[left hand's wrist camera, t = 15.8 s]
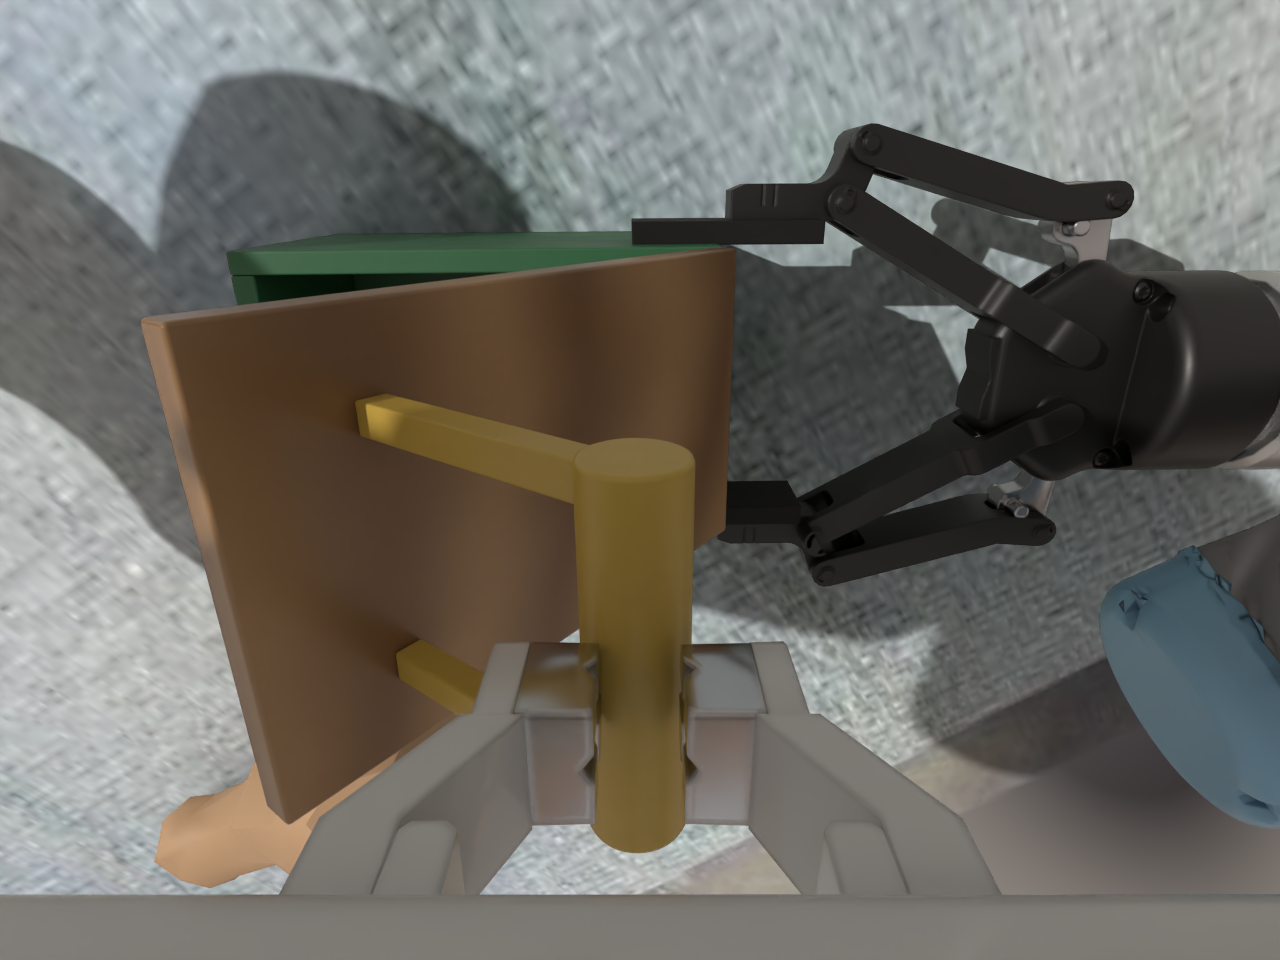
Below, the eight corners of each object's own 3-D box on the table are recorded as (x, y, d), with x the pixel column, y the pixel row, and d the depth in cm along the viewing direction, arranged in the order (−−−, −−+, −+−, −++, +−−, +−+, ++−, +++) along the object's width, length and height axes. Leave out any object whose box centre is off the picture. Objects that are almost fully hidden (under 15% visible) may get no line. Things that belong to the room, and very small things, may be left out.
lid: (265, 807, 15) (551, 1075, 10) (136, 316, 11) (492, 398, 7) (706, 524, 27) (923, 589, 22) (713, 246, 23) (976, 258, 19)
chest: (369, 443, 36) (283, 527, 27) (336, 233, 32) (224, 251, 23) (692, 438, 36) (714, 521, 27) (696, 230, 32) (723, 246, 23)
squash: (538, 747, 43) (514, 906, 36) (288, 831, 49) (222, 983, 41) (425, 633, 38) (369, 791, 30) (160, 741, 43) (58, 897, 36)
